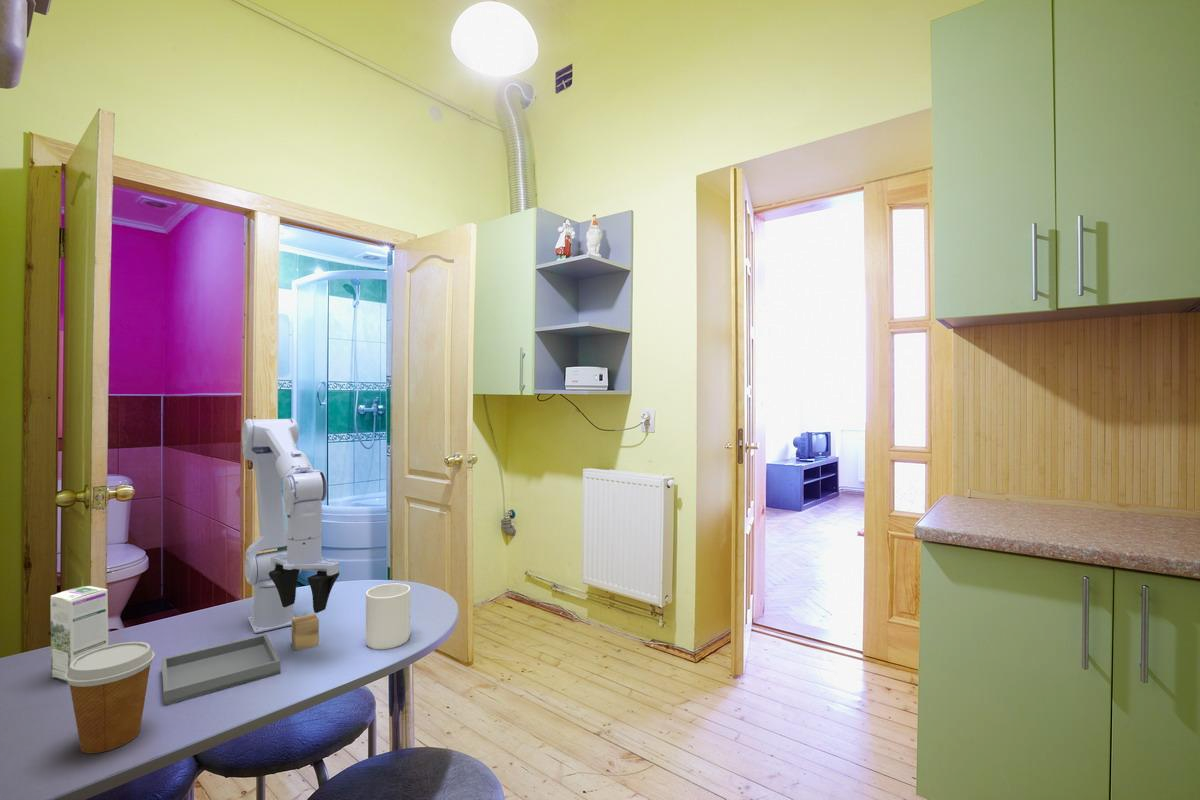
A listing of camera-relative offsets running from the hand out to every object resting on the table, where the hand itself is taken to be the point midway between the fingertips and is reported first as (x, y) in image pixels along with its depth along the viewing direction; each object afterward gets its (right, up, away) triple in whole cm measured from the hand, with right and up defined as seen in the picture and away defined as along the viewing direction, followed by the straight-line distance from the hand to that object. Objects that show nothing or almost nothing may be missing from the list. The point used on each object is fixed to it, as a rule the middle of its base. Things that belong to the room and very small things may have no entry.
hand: (304, 608), depth 103 cm
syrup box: (-35, -9, -7) cm, 37 cm away
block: (-2, -9, +5) cm, 10 cm away
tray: (-11, -9, -7) cm, 16 cm away
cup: (+12, -9, +8) cm, 17 cm away
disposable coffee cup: (-14, -9, -26) cm, 30 cm away
